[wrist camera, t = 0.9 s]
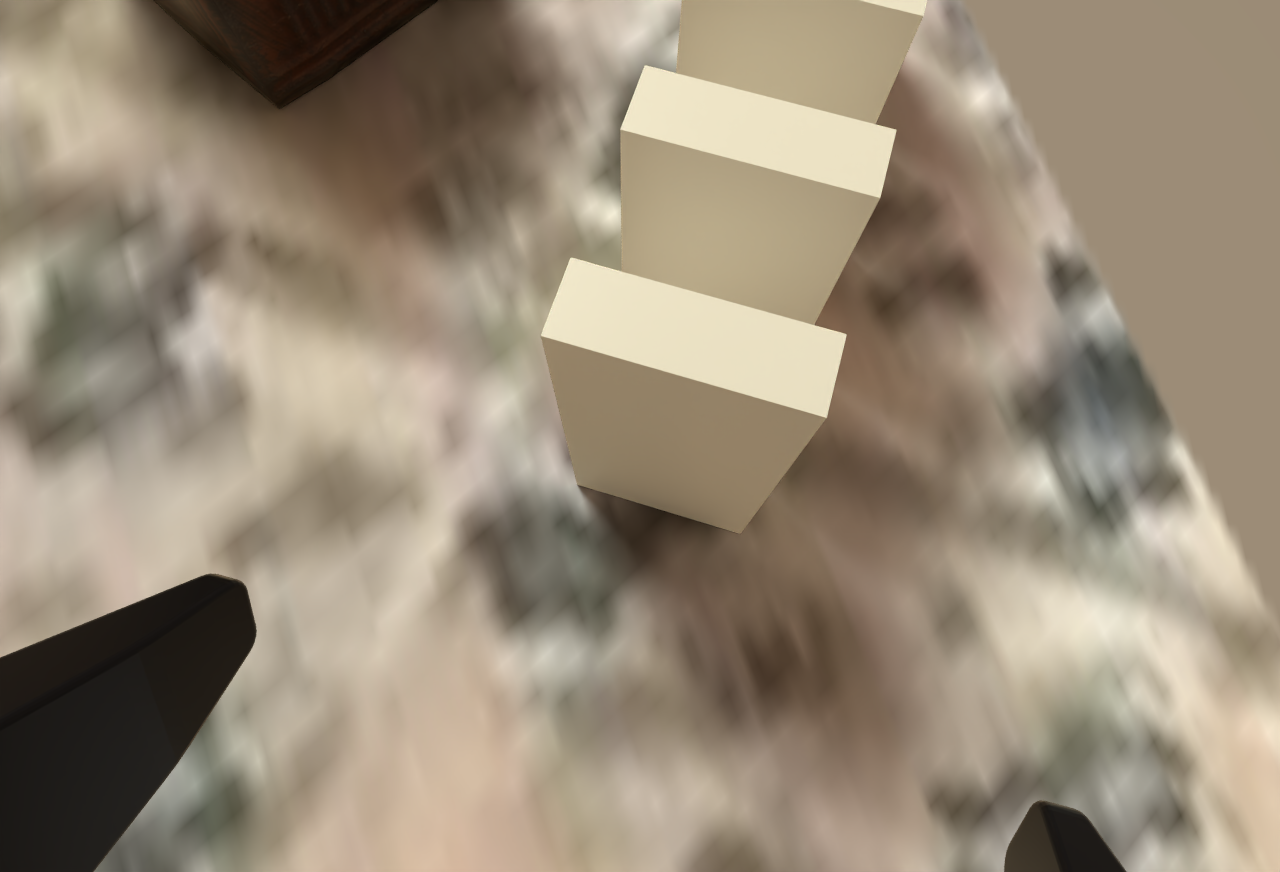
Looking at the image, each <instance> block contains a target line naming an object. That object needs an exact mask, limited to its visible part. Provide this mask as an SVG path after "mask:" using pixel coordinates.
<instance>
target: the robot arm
mask: <svg viewBox="0 0 1280 872" xmlns="http://www.w3.org/2000/svg"><path fill="white" fill-rule="evenodd" d="M256 631H257V630H256V624H255V620H254V616H253V612H252V607H251V603H250V599H249V595H248V591H247V588H246V586H245V585H244V583H243V582H242V581H240V580H237V579H233V578H230V577H226V576H222V575H219V574H206V575H203V576H200V577H198V578H195V579H193V580H190V581H188V582H185V583H183V584H181V585H178V586H176V587H173V588H171V589H168V590H166V591H163V592H161V593H158V594H156V595H153V596H151V597H148V598H146V599H144V600H141V601H139V602H136V603H134V604H131V605H129V606H126V607H124V608H121V609H119V610H116V611H114V612H111V613H109V614H107V615H104V616H102V617H99V618H97V619H94V620H92V621H89V622H87V623H84V624H82V625H79V626H77V627H74V628H72V629H70V630H67V631H65V632H62V633H60V634H57V635H55V636H52V637H50V638H47V639H45V640H42V641H40V642H37V643H35V644H33V645H30V646H28V647H25V648H23V649H20V650H18V651H15V652H13V653H10V654H8V655H5V656H3V657H1V658H0V872H94V871H95V869H96V868H97V867H98V865H99V864H100V863H101V862H102V860H103V859H104V858H105V856H106V855H107V854H108V853H109V851H110V850H111V849H112V847H113V846H114V845H115V844H116V842H117V841H118V840H119V838H120V837H121V836H122V835H123V833H124V832H125V831H126V829H127V828H128V827H129V826H130V824H131V823H132V822H133V821H134V819H135V818H136V817H137V815H138V814H139V813H140V812H141V810H142V809H143V808H144V806H145V805H146V804H147V803H148V801H149V800H150V799H151V797H152V796H153V795H154V794H155V792H156V791H157V790H158V788H159V787H160V786H161V785H162V783H163V782H164V781H165V779H166V778H167V777H168V775H169V774H170V773H171V771H172V770H173V769H174V767H175V766H176V765H177V763H178V762H179V760H180V759H181V757H182V756H183V754H184V753H185V752H186V750H187V749H188V747H189V746H190V744H191V743H192V741H193V740H194V738H195V737H196V735H197V733H198V732H199V730H200V729H201V727H202V726H203V724H204V723H205V721H206V719H207V718H208V716H209V715H210V713H211V712H212V710H213V709H214V707H215V705H216V704H217V702H218V701H219V699H220V698H221V696H222V695H223V693H224V691H225V690H226V688H227V687H228V685H229V684H230V682H231V681H232V679H233V677H234V676H235V674H236V673H237V671H238V670H239V668H240V667H241V665H242V663H243V662H244V660H245V659H246V657H247V656H248V654H249V653H250V651H251V649H252V647H253V644H254V642H255V638H256ZM1004 872H1126V870H1125V869H1124V867H1123V866H1122V865H1121V863H1120V862H1119V861H1118V859H1117V858H1116V856H1115V855H1114V854H1113V852H1112V851H1111V849H1110V848H1109V847H1108V845H1107V844H1106V842H1105V841H1104V840H1103V838H1102V837H1101V835H1100V834H1099V833H1098V831H1097V830H1096V828H1095V827H1094V826H1093V824H1092V823H1091V821H1090V820H1089V819H1088V818H1087V817H1086V816H1085V815H1084V814H1083V813H1082V812H1080V811H1078V810H1076V809H1073V808H1070V807H1066V806H1063V805H1059V804H1055V803H1052V802H1048V801H1043V800H1040V801H1037V802H1035V803H1034V804H1033V805H1032V806H1031V807H1030V809H1029V811H1028V812H1027V814H1026V816H1025V818H1024V819H1023V821H1022V823H1021V825H1020V826H1019V828H1018V830H1017V832H1016V833H1015V835H1014V837H1013V838H1012V840H1011V842H1010V844H1009V846H1008V849H1007V852H1006V857H1005V866H1004Z"/></svg>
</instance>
